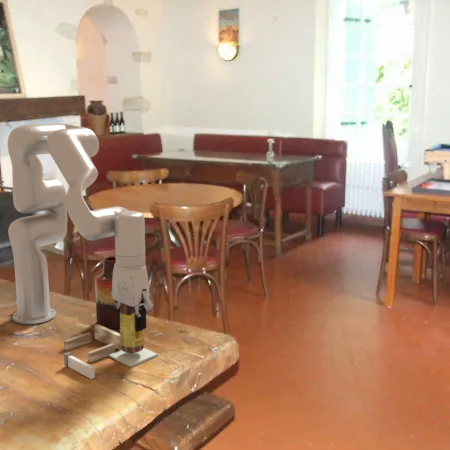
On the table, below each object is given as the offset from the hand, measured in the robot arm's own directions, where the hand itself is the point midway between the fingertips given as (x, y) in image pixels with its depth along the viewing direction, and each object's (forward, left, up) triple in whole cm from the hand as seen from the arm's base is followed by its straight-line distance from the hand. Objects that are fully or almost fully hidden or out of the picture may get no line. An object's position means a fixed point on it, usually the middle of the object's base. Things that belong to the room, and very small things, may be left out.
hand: (132, 325), depth 156 cm
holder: (-11, -5, -9) cm, 15 cm away
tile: (0, 0, -9) cm, 9 cm away
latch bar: (-2, -15, -8) cm, 17 cm away
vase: (-22, +11, -9) cm, 26 cm away
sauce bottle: (0, 0, -7) cm, 7 cm away
